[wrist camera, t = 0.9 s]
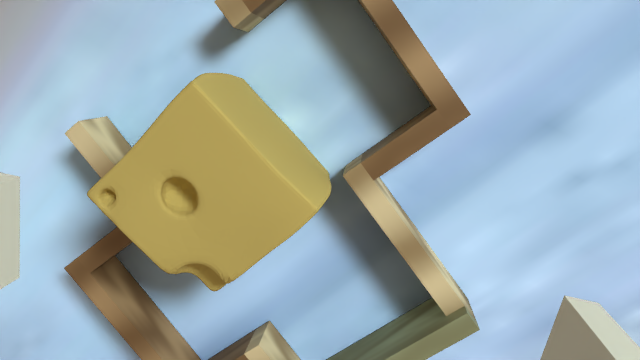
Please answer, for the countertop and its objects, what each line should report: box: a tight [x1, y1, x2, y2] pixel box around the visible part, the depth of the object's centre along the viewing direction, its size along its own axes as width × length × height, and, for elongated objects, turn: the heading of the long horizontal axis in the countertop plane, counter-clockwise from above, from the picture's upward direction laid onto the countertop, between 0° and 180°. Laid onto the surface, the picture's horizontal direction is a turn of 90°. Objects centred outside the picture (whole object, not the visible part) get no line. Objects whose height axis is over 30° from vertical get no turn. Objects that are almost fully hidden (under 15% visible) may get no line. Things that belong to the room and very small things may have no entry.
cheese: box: [87, 73, 331, 291], centre depth 31 cm, size 10×11×10 cm
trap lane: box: [64, 0, 480, 360], centre depth 34 cm, size 28×31×4 cm
